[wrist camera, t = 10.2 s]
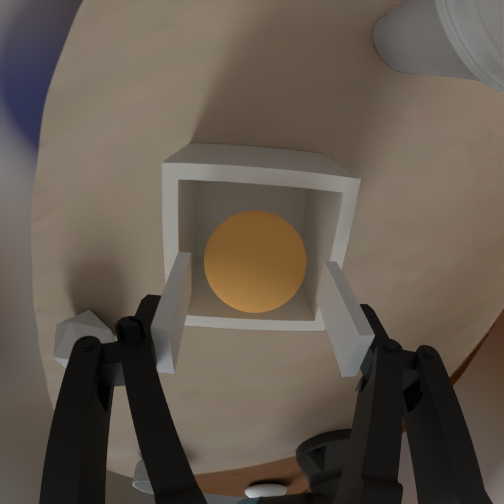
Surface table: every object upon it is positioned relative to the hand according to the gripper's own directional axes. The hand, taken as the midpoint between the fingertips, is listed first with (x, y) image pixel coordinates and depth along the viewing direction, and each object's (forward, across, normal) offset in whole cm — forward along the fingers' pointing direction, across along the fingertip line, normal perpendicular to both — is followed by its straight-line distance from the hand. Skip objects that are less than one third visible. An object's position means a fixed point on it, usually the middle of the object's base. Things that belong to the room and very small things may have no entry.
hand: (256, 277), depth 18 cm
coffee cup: (+12, -13, -19) cm, 26 cm away
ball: (+5, 0, 0) cm, 5 cm away
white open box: (+12, 0, 0) cm, 12 cm away
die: (+12, +19, +17) cm, 28 cm away
